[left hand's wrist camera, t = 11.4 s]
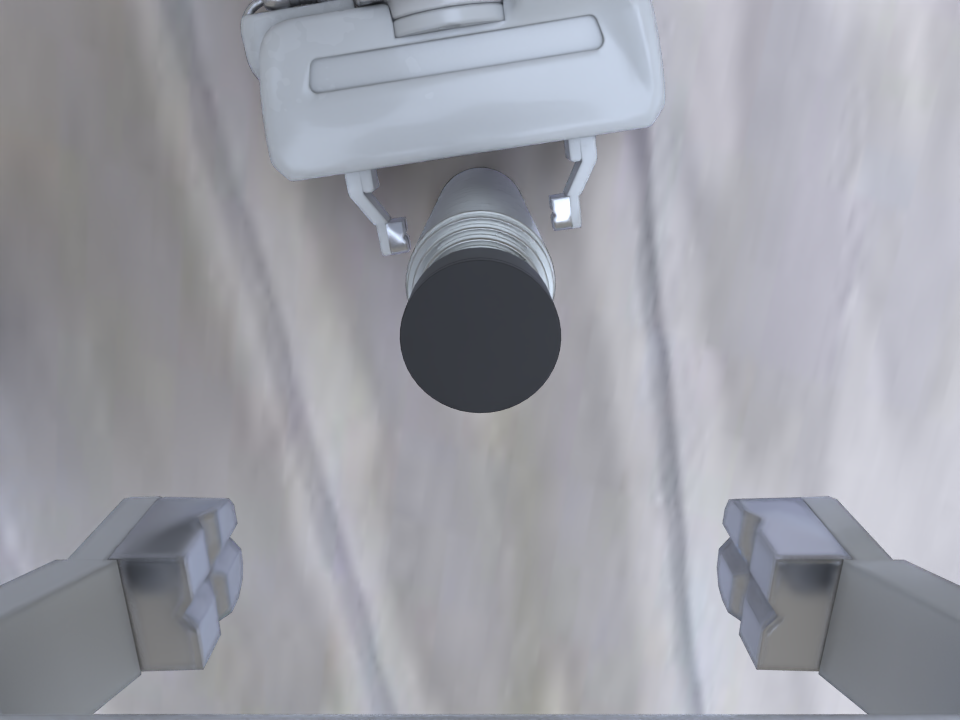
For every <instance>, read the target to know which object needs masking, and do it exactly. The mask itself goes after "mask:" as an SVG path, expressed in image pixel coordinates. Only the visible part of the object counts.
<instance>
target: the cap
mask: <svg viewBox="0 0 960 720" xmlns="http://www.w3.org/2000/svg"><path fill="white" fill-rule="evenodd" d="M400 345H401V351H402V355H403V359H404V362H405V364H406V367H407V369H408V371H409V372H410V374H411V376H412V377H413V379H414V380H415V381H416V383H417V384H418V385H419V386H420V387H421V388H422V389H423V390H424V391H425V392H426V393H427V394H428V395H429V396H431V397H432V398H433V399H435V400H437V401H438V402H440V403H442V404H444V405H446V406H448V407H451V408H454V409H457V410H460V411H465V412H472V413H489V412H496V411H501V410H504V409H507V408H510V407H513V406H515V405H517V404H519V403H521V402H523V401H524V400H526V399H528V398H529V397H530V396H532V395H533V394H534V393H535V392H536V391H537V390H538V389H539V388H540V387H541V386H542V385H543V384H544V383H545V381H546V380H547V379H548V378H549V376H550V374H551V372H552V371H553V369H554V367H555V364H556V362H557V359H558V355H559V351H560V345H561V328H560V321H559V317H558V314H557V311H556V308H555V305H554V303H553V300H552V297H551V295H550V292H549V290H548V288H547V286H546V284H545V283H544V281H543V280H542V278H541V277H540V275H539V274H538V273H537V272H536V271H535V270H534V269H533V268H532V267H531V266H530V265H529V264H528V263H526V262H525V261H523V260H522V259H520V258H519V257H517V256H515V255H513V254H511V253H508V252H506V251H503V250H499V249H494V248H486V247H475V248H467V249H462V250H458V251H455V252H452V253H450V254H448V255H446V256H444V257H442V258H441V259H439V260H438V261H436V262H435V263H433V264H432V265H431V266H430V267H429V268H428V269H427V270H426V271H425V272H424V273H423V274H422V275H421V277H420V278H419V280H418V281H417V283H416V284H415V286H414V288H413V290H412V292H411V295H410V297H409V300H408V303H407V305H406V308H405V311H404V314H403V317H402V321H401V327H400Z"/></svg>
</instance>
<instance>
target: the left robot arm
mask: <svg viewBox="0 0 960 720" xmlns="http://www.w3.org/2000/svg"><path fill="white" fill-rule="evenodd" d="M236 525H237V518H236V513H235V507H234V504H233V503H232V502H231V500H230V499H229V498H193V497H160V496H157V497H130V498H125V499H123V500H122V501H121V502H120V503H119V504H118V505H117V507H116V508H115V509H114V510H113V511H112V512H111V513H110V514H109V515H108V516H107V517H106V518H105V519H104V521H103V522H102V523H101V524H100V525H99V526H98V527H97V528H96V529H95V530H94V531H93V532H92V533H91V535H90V536H89V537H88V538H87V539H86V540H85V541H84V542H83V543H82V544H81V545H80V546H79V547H78V549H77V550H76V551H75V552H74V553H73V554H72V555H71V556H70V557H69V558H68V559H67V560H55V561H52V562H50V563H48V564H46V565H44V566H42V567H39V568H37V569H35V570H33V571H31V572H29V573H27V574H24V575H22V576H20V577H18V578H16V579H14V580H11V581H9V582H7V583H5V584H3V585H1V586H0V720H960V586H959V585H957V584H955V583H953V582H951V581H949V580H946V579H944V578H942V577H940V576H938V575H936V574H933V573H931V572H929V571H927V570H925V569H923V568H921V567H918V566H916V565H914V564H912V563H910V562H908V561H905V560H893V559H892V558H891V557H890V556H889V555H888V554H887V553H886V552H885V551H884V550H883V549H882V547H881V546H880V545H879V544H878V543H877V542H876V541H875V540H874V539H873V538H872V537H871V536H870V535H869V533H868V532H867V531H866V530H865V529H864V528H863V527H862V526H861V525H860V524H859V523H858V522H857V520H856V519H855V518H854V517H853V516H852V515H851V514H850V513H849V512H848V511H847V510H846V509H845V508H844V506H843V505H842V504H841V503H840V502H839V501H838V500H837V499H834V498H832V497H830V496H821V497H795V498H755V499H729V500H728V503H727V505H726V507H725V511H724V517H723V525H724V527H725V529H726V531H727V532H728V534H729V536H730V538H729V539H728V540H727V541H726V542H725V543H724V544H723V545H722V546H721V547H720V548H719V553H718V562H717V576H718V587H719V590H720V594H721V597H722V600H723V603H724V605H725V607H726V609H727V611H728V613H730V614H731V615H733V616H734V617H736V618H737V619H739V620H740V621H741V624H740V631H739V635H740V637H741V639H742V641H743V643H744V645H745V647H746V649H747V651H748V653H749V655H750V657H751V659H752V661H753V663H754V665H755V667H756V669H757V670H790V671H819V675H820V676H822V677H823V678H824V679H825V680H826V681H828V682H829V683H830V684H831V685H833V686H834V687H835V688H836V689H837V690H839V691H840V692H841V693H842V694H844V695H845V696H846V697H847V698H848V699H850V700H851V701H852V702H853V703H855V704H856V705H857V706H858V707H860V708H861V709H862V710H863V711H864V712H866V713H867V714H93V713H95V712H96V711H97V710H98V709H99V708H101V707H102V706H103V705H104V704H106V703H107V702H108V701H109V700H111V699H112V698H113V697H114V696H115V695H117V694H118V693H119V692H120V691H122V690H123V689H124V688H125V687H127V686H128V685H129V684H130V683H131V682H133V681H134V680H135V679H136V678H138V677H139V676H140V675H141V671H169V670H203V669H204V667H205V665H206V663H207V661H208V659H209V657H210V655H211V653H212V651H213V649H214V647H215V645H216V643H217V641H218V639H219V637H220V635H221V631H220V624H219V621H220V620H221V619H223V618H224V617H226V616H227V615H229V614H230V613H232V611H233V609H234V607H235V605H236V602H237V600H238V598H239V594H240V589H241V584H242V580H243V560H242V552H241V548H240V547H239V546H238V545H237V544H236V543H235V542H234V541H233V540H232V539H231V538H230V536H231V534H232V532H233V531H234V529H235V527H236Z"/></svg>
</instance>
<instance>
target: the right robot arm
mask: <svg viewBox="0 0 960 720" xmlns="http://www.w3.org/2000/svg"><path fill="white" fill-rule="evenodd" d="M312 3H313V4H312ZM305 4H310V5H305ZM300 5H304V6H300ZM356 5H357V7H358V8H357V7H356ZM262 6H264V7H265V8H266V10H269V11H268V12H262V13H255V12H256V11H257V10H258V9H259V8H260V7H262ZM294 6H298V7H294ZM254 13H255V14H254ZM241 36H242V40H243V44H244V48H245V52H246V57H247V61H248V64H249V66H250V69H251V71H252V72H253V74H254V75H255V76H256V78H257V79H258V80H259V81H260V95H261V105H262V114H263V121H264V128H265V135H266V141H267V146H268V151H269V156H270V159H271V163H272V165H273V166H274V167H275V168H276V169H277V170H278V171H279V172H280V173H281V174H282V175H283V176H285V177H286V178H287V179H288V180H290V181H299V180H306V179H313V178H319V177H326V176H332V175H339V174H344V175H345V180H346V184H347V189H348V194H349V197H350V198H351V199H352V200H353V201H354V203H355V204H356V205H357V206H358V207H359V208H360V210H361V211H362V212H363V213H364V214H365V215H366V217H367V218H368V219H369V220H370V221H371V222H372V224H373V225H376V227H377V232H378V237H379V242H380V247H381V252H382V254H383V256H388V255H395V254H401V253H407V252H410V250H411V242H410V236H409V235H408V234H407V233H406V232H407V229H408V225H407V220H406V217H399V218H392V217H391V216H390V215H389V214H388V212H387V211H386V210H385V209H384V207H383V206H382V205H381V204H380V202H379V201H378V200H377V199H376V197H375V196H374V195H373V194H372V192H373V191H374V190H376V189H377V188H378V187H379V180H378V175H377V169H378V168H385V167H391V166H398V165H405V164H411V163H418V162H424V161H431V160H437V159H444V158H451V157H457V156H464V155H470V154H477V153H483V152H490V151H496V150H503V149H510V148H516V147H523V146H529V145H536V144H542V143H549V142H556V141H562V140H564V146H565V155H566V158H567V159H568V160H570V161H572V162H575V164H574V166H573V169H572V171H571V174H570V176H569V178H568V181H567V183H566V186H565V188H564V191H563V193H560V194H554V195H549V204H550V208H551V210H552V211H553V212H552V214H551V222H552V227H553V229H554V231H558V230H566V229H573V228H580V227H581V212H580V201H579V195H580V194H582V192H583V189H584V187H585V185H586V183H587V180H588V178H589V176H590V174H591V172H592V169H593V167H594V165H595V163H596V160H597V150H596V137H595V135H602V134H608V133H615V132H621V131H628V130H634V129H641V128H647V127H650V126H651V125H653V123H654V122H655V120H656V119H657V117H658V116H659V114H660V112H661V111H662V109H663V107H664V104H665V83H664V72H663V63H662V54H661V48H660V41H659V35H658V29H657V24H656V19H655V14H654V10H653V6H652V2H651V0H356V2H355V0H253V1H252V2H251V3H250V4H249V5H248V7H247V8H246V10H245V12H244V14H243V16H242V20H241Z"/></svg>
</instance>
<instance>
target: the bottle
mask: <svg viewBox="0 0 960 720" xmlns="http://www.w3.org/2000/svg"><path fill="white" fill-rule="evenodd" d="M475 247H486V248H494V249H499V250H503V251H506V252H508V253H511V254H513V255H515V256H517V257H519V258H520V259H522V260H523V261H525V262H526V263H528V264H529V265H530V266H531V267H532V268H533V269H534V270H535V271H536V272H537V273H538V274H539V275H540V277H541V278H542V280H543V281H544V283H545V284H546V286H547V288H548V290H549V292H550V295H551V297H552V300H553V299H554V295H555V272H554V266H553V263H552V260H551V257H550V255H549V253H548V250H547V248H546V246H545V244H544V242H543V240H542V238H541V236H540V233H539V231H538V229H537V227H536V225H535V223H534V221H533V219H532V217H531V214H530V212H529V210H528V208H527V206H526V204H525V202H524V200H523V198H522V195H521V193H520V191H519V190H518V188H517V186H516V185H515V184H514V183H513V181H512V180H510V179H509V178H508V177H507V176H506V175H504V174H502V173H501V172H499V171H496V170H493V169H489V168H472V169H468V170H465V171H463V172H461V173H459V174H457V175H456V176H454V177H453V178H452V179H451V180H450V181H449V182H448V183H447V184H446V185H445V187H444V188H443V190H442V192H441V194H440V196H439V198H438V200H437V202H436V204H435V207H434V209H433V211H432V213H431V215H430V217H429V219H428V221H427V223H426V225H425V228H424V230H423V232H422V234H421V236H420V238H419V240H418V242H417V244H416V246H415V248H414V251H413V253H412V255H411V257H410V260H409V263H408V267H407V273H406V294H407V299H408V300H409V297H410V295H411V292H412V290H413V288H414V286H415V284H416V283H417V281H418V280H419V278H420V277H421V275H422V274H423V273H424V272H425V271H426V270H427V269H428V268H429V267H430V266H431V265H432V264H433V263H435V262H436V261H438V260H439V259H441V258H442V257H444V256H446V255H448V254H450V253H452V252H455V251H458V250H462V249H467V248H475Z"/></svg>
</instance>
